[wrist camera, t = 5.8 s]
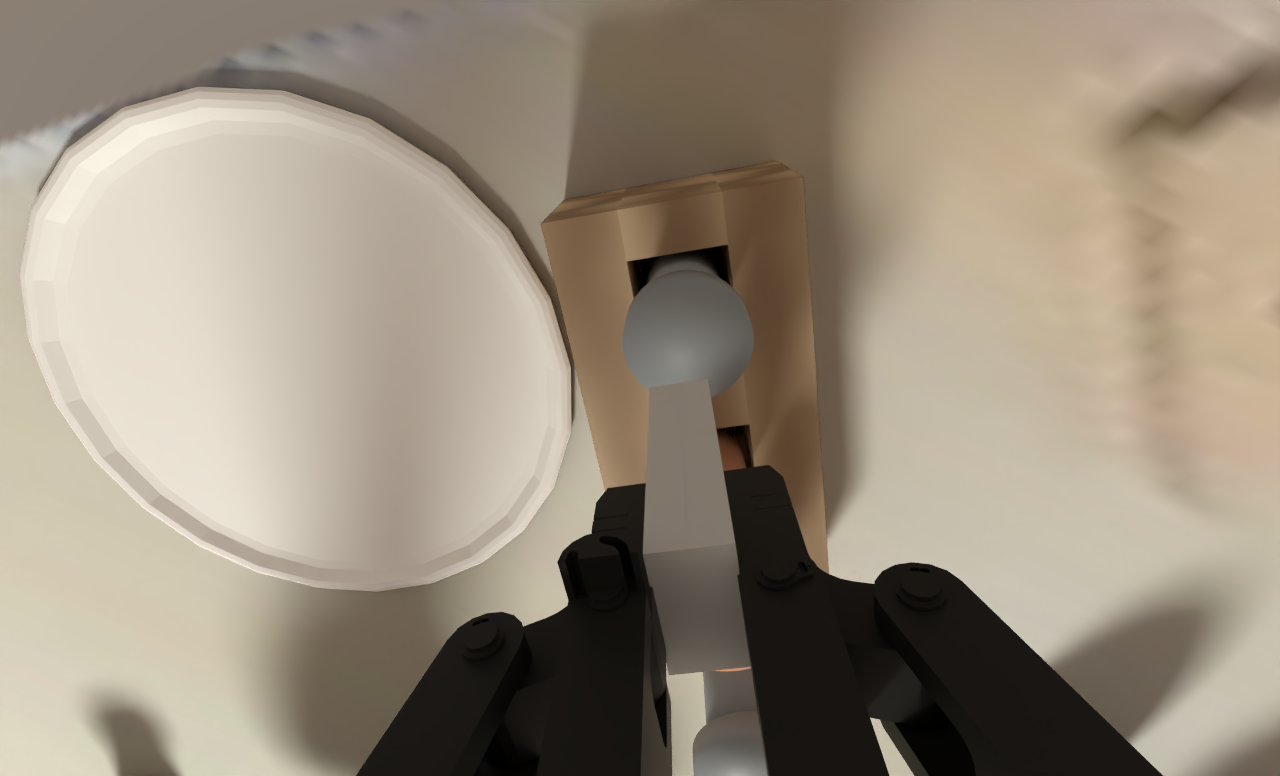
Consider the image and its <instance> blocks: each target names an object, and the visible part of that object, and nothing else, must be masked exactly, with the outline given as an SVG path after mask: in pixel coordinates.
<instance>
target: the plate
mask: <svg viewBox="0 0 1280 776" xmlns="http://www.w3.org/2000/svg"><path fill="white" fill-rule="evenodd" d="M19 273H20V281H21V288H22V296H23V303H24V311H25V318H26V326H27V334H28V340H29V342H30V344H31V347H32V349H33V352H34V354H35V357H36V359H37V361H38V364H39V366H40V369H41V371H42V374H43V376H44V378H45V381H46V383H47V386H48V388H49V391H50V393H51V395H52V398H53V400H54V403H55V405H56V406H57V407H58V409H59V410H60V412H61V413H62V415H63V416H64V418H65V419H66V420H67V422H68V423H69V425H70V426H71V428H72V429H73V430H74V432H75V433H76V435H77V436H78V438H79V439H80V441H81V442H82V443H83V445H84V446H85V448H86V449H87V451H88V452H89V454H90V455H91V456H92V458H93V459H94V461H95V462H96V463H97V464H98V465H99V466H100V467H102V468H103V469H104V470H105V471H106V472H107V473H108V474H109V475H110V476H111V477H112V478H113V479H114V480H115V481H116V482H117V483H118V484H119V485H120V486H121V487H122V488H123V489H124V490H125V491H126V492H127V493H128V494H129V495H130V496H131V497H132V498H133V499H134V500H135V501H136V502H137V503H138V504H139V505H140V506H141V507H142V508H144V509H145V510H147V511H148V512H149V513H151V514H152V515H154V516H155V517H157V518H158V519H160V520H161V521H163V522H164V523H166V524H167V525H169V526H170V527H172V528H173V529H174V530H176V531H177V532H179V533H180V534H182V535H183V536H185V537H186V538H188V539H189V540H191V541H192V542H194V543H195V544H197V545H198V546H200V547H202V548H204V549H207V550H209V551H211V552H213V553H215V554H218V555H220V556H222V557H224V558H226V559H229V560H231V561H233V562H235V563H237V564H240V565H242V566H244V567H246V568H248V569H251V570H253V571H255V572H257V573H261V574H265V575H269V576H273V577H277V578H281V579H285V580H289V581H293V582H297V583H300V584H304V585H308V586H312V587H316V588H326V589H342V590H358V591H375V592H378V591H385V590H391V589H398V588H405V587H411V586H418V585H425V584H431V583H435V582H437V581H439V580H442V579H444V578H447V577H449V576H452V575H454V574H456V573H459V572H461V571H464V570H466V569H469V568H471V567H474V566H476V565H478V564H481V563H483V562H484V561H485V560H487V559H488V558H489V557H491V556H492V555H493V554H494V553H496V552H497V551H498V550H500V549H501V548H502V547H503V546H505V545H506V544H507V543H508V542H510V541H511V540H512V539H514V538H515V537H516V536H517V535H519V534H520V533H521V532H523V531H524V530H525V528H526V527H527V525H528V524H529V522H530V521H531V520H532V518H533V517H534V515H535V514H536V512H537V511H538V510H539V508H540V507H541V505H542V504H543V502H544V501H545V499H546V498H547V497H548V495H549V494H550V492H551V491H552V489H553V488H554V486H555V483H556V480H557V477H558V474H559V470H560V467H561V464H562V460H563V457H564V454H565V450H566V447H567V444H568V440H569V437H570V434H571V365H570V362H569V358H568V355H567V351H566V348H565V345H564V341H563V338H562V334H561V331H560V328H559V324H558V321H557V318H556V314H555V311H554V307H553V304H552V301H551V298H550V296H549V294H548V293H547V291H546V289H545V288H544V286H543V284H542V283H541V281H540V279H539V278H538V276H537V274H536V273H535V271H534V269H533V268H532V266H531V264H530V263H529V261H528V259H527V258H526V256H525V254H524V253H523V251H522V249H521V248H520V246H519V244H518V243H517V241H516V239H515V238H514V236H513V234H512V233H511V231H510V229H509V228H508V227H507V226H506V225H505V224H504V223H503V222H502V221H501V220H500V219H499V218H498V217H497V216H496V215H495V214H494V213H493V212H492V211H491V210H490V209H489V208H488V207H487V206H486V205H485V204H484V203H483V202H482V201H481V200H480V199H479V198H478V197H477V196H476V195H475V194H474V193H473V192H472V191H471V190H470V189H469V188H468V187H467V186H466V185H465V184H464V183H463V182H462V181H461V180H460V179H459V178H458V177H457V176H456V175H455V174H454V172H453V171H452V170H451V169H450V168H449V167H447V166H446V165H444V164H442V163H441V162H439V161H438V160H436V159H434V158H433V157H431V156H430V155H428V154H426V153H425V152H423V151H422V150H420V149H418V148H417V147H415V146H414V145H412V144H410V143H409V142H407V141H406V140H404V139H403V138H401V137H399V136H398V135H396V134H395V133H393V132H391V131H390V130H388V129H387V128H385V127H383V126H382V125H380V124H379V123H377V122H375V121H374V120H372V119H370V118H367V117H364V116H361V115H358V114H355V113H352V112H349V111H346V110H343V109H340V108H337V107H333V106H330V105H327V104H324V103H321V102H318V101H315V100H312V99H309V98H306V97H303V96H300V95H297V94H294V93H291V92H288V91H283V90H261V89H239V88H217V87H195V88H191V89H188V90H184V91H180V92H177V93H173V94H170V95H166V96H162V97H159V98H155V99H152V100H148V101H144V102H141V103H137V104H133V105H130V106H126V107H123V108H121V109H120V110H119V111H117V112H116V113H115V114H113V115H112V116H111V117H109V118H108V119H107V120H105V121H104V122H102V123H101V124H100V125H98V126H97V127H96V128H94V129H93V130H92V131H90V132H89V133H88V134H86V135H85V136H83V137H82V138H81V139H79V140H78V141H77V142H75V143H74V144H73V145H71V146H70V147H69V148H67V149H66V150H65V152H64V153H63V155H62V157H61V158H60V160H59V162H58V163H57V165H56V167H55V168H54V170H53V172H52V173H51V175H50V176H49V178H48V180H47V181H46V183H45V185H44V186H43V188H42V190H41V191H40V193H39V195H38V196H37V198H36V199H35V201H34V203H33V204H32V206H31V210H30V216H29V221H28V227H27V232H26V238H25V243H24V249H23V254H22V260H21V265H20V271H19Z"/></svg>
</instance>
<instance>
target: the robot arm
mask: <svg viewBox="0 0 1280 776" xmlns="http://www.w3.org/2000/svg"><path fill="white" fill-rule="evenodd" d="M558 565H559V569H560V572H561V576H562V579H563V583H564V586H565V590H566V593H567V596H568V600H569V602H568V606H567V607H565V608H564V609H562V610H561V611H559V612H558V613H556V614H554V615H552V616H550V617H548V618H545V619H543V620H540V621H537V622H534V623H532V624H529V625H526V626H524V627H523V625H522V623H521V622H520V621H519V620H518V619H517V618H516V617H515V616H514V615H511V614H507V613H504V612H497V613H487V614H484V615H481V616H479V617H476V618H473V619H471V620H470V621H468V622H467V623H465V624H464V625H462V626H461V627H459V628H458V629H457V630H456V631H455V632H454V633H453V635H452V636H451V637H450V638H449V639H448V640H447V642H446V643H445V645H444V646H443V648H442V649H441V651H440V652H439V654H438V655H437V657H436V658H435V660H434V661H433V662H432V664H431V665H430V667H429V668H428V670H427V671H426V673H425V674H424V676H423V677H422V679H421V680H420V682H419V683H418V685H417V686H416V688H415V689H414V691H413V692H412V694H411V695H410V697H409V698H408V700H407V701H406V703H405V704H404V705H403V707H402V708H401V710H400V711H399V713H398V714H397V716H396V717H395V719H394V720H393V722H392V723H391V725H390V726H389V728H388V729H387V731H386V732H385V734H384V735H383V737H382V738H381V740H380V741H379V743H378V744H377V745H376V747H375V748H374V750H373V751H372V753H371V754H370V756H369V757H368V759H367V760H366V762H365V763H364V765H363V766H362V768H361V769H360V771H359V772H358V774H357V775H356V776H672V744H671V701H670V697H669V692H668V688H667V683H666V663H667V668H668V672H669V675H675V674H685V673H694V672H704V671H714V670H724V669H734V668H744V667H751V671H752V678H753V685H754V691H755V698H756V705H757V712H758V719H759V725H760V730H761V737H762V743H763V750H764V756H765V763H766V769H767V776H889V773H888V770H887V767H886V764H885V761H884V758H883V755H882V752H881V749H880V746H879V743H878V740H877V738H876V735H875V732H874V729H873V726H872V723H871V720H870V717H871V718H875V719H880V720H881V723H882V725H883V727H884V729H885V731H886V732H887V734H888V735H889V737H890V738H891V740H892V741H893V743H894V744H895V746H896V748H897V749H898V751H899V752H900V754H901V755H902V757H903V758H904V760H905V762H906V763H907V765H908V766H909V768H910V769H911V771H912V772H913V774H914V776H1163V775H1162V774H1161V773H1160V772H1159V771H1158V770H1157V769H1156V768H1154V767H1153V766H1152V765H1151V764H1150V763H1149V762H1148V761H1147V760H1146V759H1145V758H1144V757H1143V756H1142V755H1141V754H1140V753H1139V752H1138V751H1137V750H1136V749H1135V748H1134V747H1133V746H1132V745H1131V744H1130V743H1129V742H1128V741H1127V740H1126V739H1124V738H1123V737H1122V736H1121V735H1120V734H1119V733H1118V732H1117V731H1116V730H1115V729H1114V728H1113V727H1112V726H1111V725H1110V724H1109V723H1108V722H1107V721H1106V720H1105V719H1104V718H1103V717H1102V716H1101V715H1100V714H1099V713H1098V712H1097V711H1096V710H1095V709H1093V708H1092V707H1091V706H1090V705H1089V704H1088V703H1087V702H1086V701H1085V700H1084V699H1083V698H1082V697H1081V696H1080V695H1079V694H1078V693H1077V692H1076V691H1075V690H1074V689H1073V688H1072V687H1071V686H1070V685H1069V684H1068V683H1067V682H1066V681H1065V680H1063V679H1062V678H1061V677H1060V676H1059V675H1058V674H1057V673H1056V672H1055V671H1054V670H1053V669H1052V668H1051V667H1050V666H1049V665H1048V664H1047V663H1046V662H1045V661H1044V660H1043V659H1042V658H1041V657H1040V656H1039V655H1038V654H1037V653H1036V652H1035V651H1034V650H1032V649H1031V648H1030V647H1029V646H1028V645H1027V644H1026V643H1025V642H1024V641H1023V640H1022V639H1021V638H1020V637H1019V636H1018V635H1017V634H1016V633H1015V632H1014V631H1013V630H1012V629H1011V628H1010V627H1009V626H1008V625H1007V624H1006V623H1005V622H1004V621H1002V620H1001V619H1000V618H999V617H998V616H997V615H996V614H995V613H994V612H993V611H992V610H991V609H990V608H989V607H988V606H987V605H986V604H985V603H984V602H983V601H982V600H981V599H980V598H979V597H978V596H977V595H976V594H975V593H974V592H973V591H971V590H970V589H969V588H968V587H967V586H966V585H965V584H964V583H963V582H962V581H961V580H960V579H958V578H957V577H955V576H954V575H953V574H951V573H950V572H948V571H947V570H944V569H941V568H938V567H936V566H933V565H930V564H921V563H905V564H898V565H894V566H892V567H890V568H888V569H886V570H884V571H882V572H881V574H880V575H879V576H878V577H877V579H876V580H875V584H869V583H861V582H853V581H849V580H844V579H840V578H837V577H835V576H832V575H829V574H828V573H826V572H825V571H823V570H821V569H820V568H819V567H818V566H817V565H816V564H815V562H814V561H813V560H812V559H811V558H810V556H809V554H808V551H807V548H806V545H805V542H804V539H803V536H802V533H801V530H800V527H799V524H798V521H797V518H796V515H795V511H794V508H793V507H792V502H791V499H790V496H789V494H788V490H787V487H786V484H785V481H784V478H783V476H782V475H780V474H779V473H778V472H777V471H776V470H775V469H773V468H772V467H771V466H770V465H764V466H757V467H749V468H742V469H734V470H727V471H723V466H722V461H721V455H720V449H719V443H718V437H717V431H716V425H715V419H714V413H713V407H712V401H711V395H710V389H709V383H708V379H702V380H695V381H689V382H682V383H675V384H669V385H662V386H655V387H650V397H649V420H648V443H647V466H646V483H641V484H634V485H626V486H619V487H611V488H607V490H606V491H605V492H604V494H603V495H602V496H601V497H600V499H599V500H598V501H597V503H596V508H595V514H594V522H593V526H592V534H589V535H586V536H584V537H582V538H580V539H578V540H576V541H574V542H572V543H571V544H570V545H569V546H568V547H567V548H566V549H565V550H564V551H563V552H562V554H561V556H560V558H559V560H558Z"/></svg>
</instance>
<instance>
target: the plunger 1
mask: <svg viewBox="0 0 1280 776" xmlns="http://www.w3.org/2000/svg"><path fill="white" fill-rule="evenodd" d="M753 345H754V333H753V328H752V324H751V321H750V318H749V315H748V312H747V309H746V307H745V305H744V303H743V301H742V299H741V297H740V296H739V294H738V293H737V292H736V291H735V290H734V289H733V287H732V286H730V285H729V284H728V283H727V282H726V281H724V280H722V279H721V278H719V274H718V271H717V267H716V264H715V260H714V257H713V254H712V252H711V250H710V249H709V248H704V249H698V250H692V251H686V252H680V253H674V254H668V255H662V256H656V257H650V260H649V266H648V275H647V284H646V286H644V287H643V288H642V289H641V290H640V291H639V293H638V294H637V295H636V296H635V298H634V300H633V301H632V303H631V305H630V307H629V309H628V313H627V316H626V320H625V326H624V332H623V352H624V356H625V360H626V362H627V365H628V367H629V369H630V371H631V372H632V374H633V375H634V377H635V378H636V379H637V380H638V381H639V382H640V383H641V384H642V385H643V386H644V387H645V388H647V389H648V390H649V391H650V387H655V386H662V385H669V384H675V383H682V382H689V381H695V380H702V379H708V383H709V389H710V395H711V397H714V396H716V395H718V394H720V393H722V392H724V391H725V390H727V389H728V388H729V387H731V386H732V385H733V384H734V383H735V382H736V381H737V380H738V379H739V378H740V377H741V375H742V374H743V373H744V371H745V369H746V368H747V366H748V364H749V361H750V359H751V356H752V352H753Z"/></svg>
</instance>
